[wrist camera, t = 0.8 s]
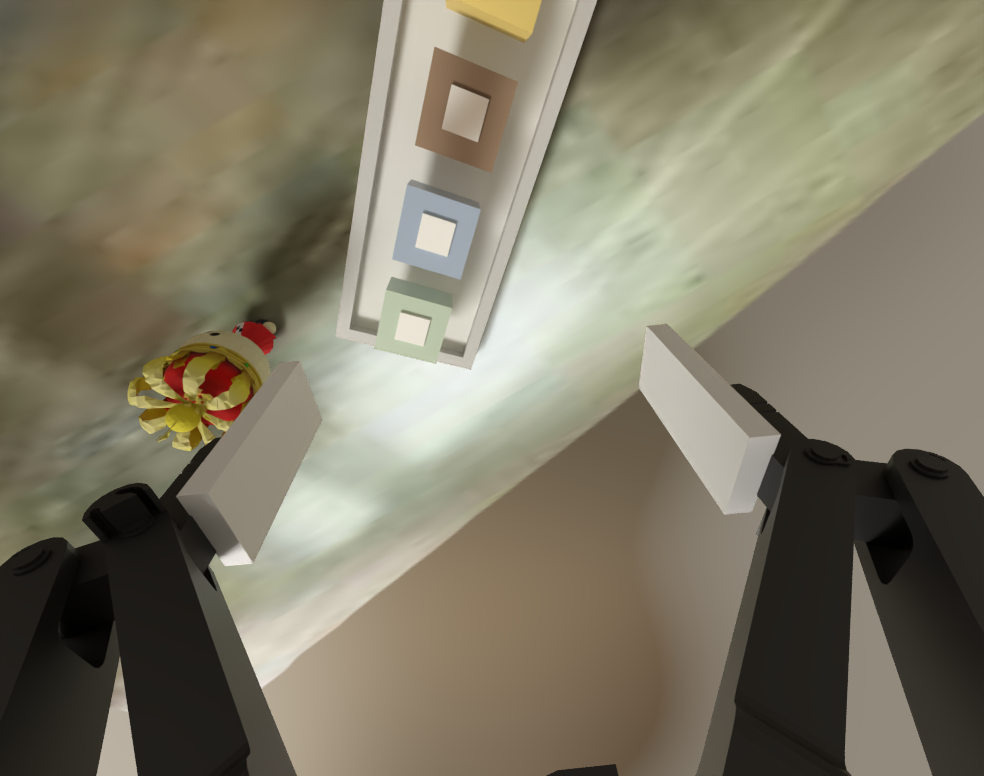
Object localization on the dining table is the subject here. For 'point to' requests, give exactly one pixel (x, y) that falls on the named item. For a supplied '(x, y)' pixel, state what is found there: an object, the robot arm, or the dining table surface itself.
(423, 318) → the key
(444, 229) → the blue square block
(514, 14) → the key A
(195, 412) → the toy
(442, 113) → the key
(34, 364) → the dining table surface
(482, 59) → the base
